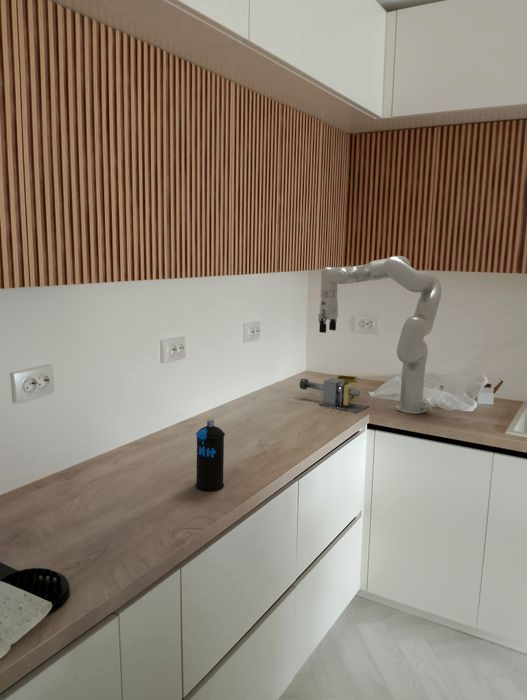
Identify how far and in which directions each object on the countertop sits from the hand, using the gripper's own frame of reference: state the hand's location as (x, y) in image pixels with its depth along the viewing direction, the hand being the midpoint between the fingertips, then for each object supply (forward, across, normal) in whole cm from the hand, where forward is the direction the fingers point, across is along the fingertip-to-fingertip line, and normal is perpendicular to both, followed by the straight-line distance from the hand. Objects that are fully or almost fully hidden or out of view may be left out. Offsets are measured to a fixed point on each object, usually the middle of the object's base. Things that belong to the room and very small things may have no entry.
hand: (327, 331), depth 273 cm
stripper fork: (+31, -12, -16) cm, 37 cm away
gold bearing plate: (+29, -12, -18) cm, 36 cm away
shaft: (+26, -13, -8) cm, 30 cm away
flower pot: (+31, +4, -8) cm, 32 cm away
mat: (+31, -12, -20) cm, 39 cm away
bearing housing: (+31, -12, -10) cm, 35 cm away
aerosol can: (+31, -116, -23) cm, 122 cm away
